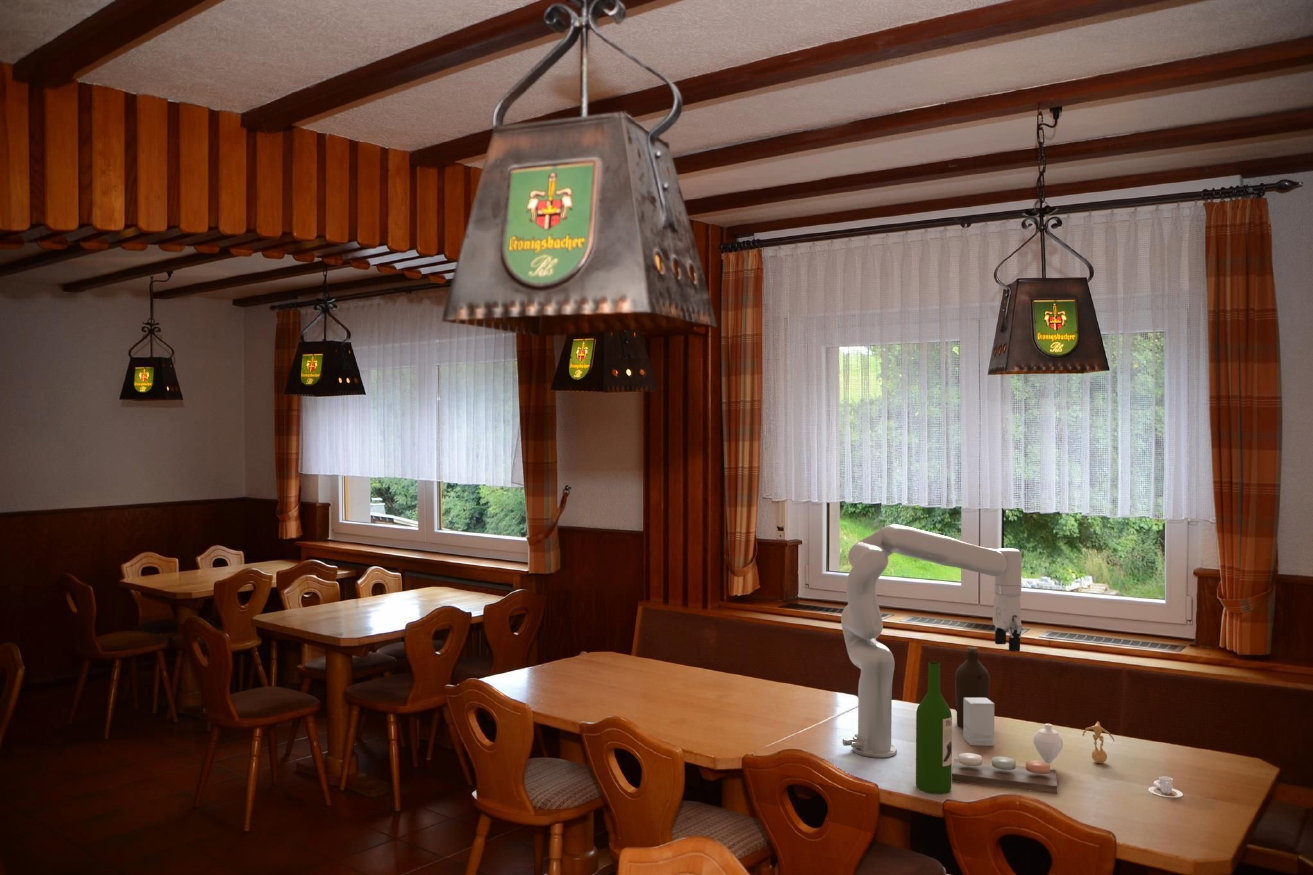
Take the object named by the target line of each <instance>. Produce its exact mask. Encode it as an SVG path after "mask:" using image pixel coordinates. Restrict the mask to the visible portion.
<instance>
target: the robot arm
mask: <svg viewBox="0 0 1313 875" xmlns="http://www.w3.org/2000/svg"><path fill="white" fill-rule="evenodd" d="M893 554H898V555H900V556H904V557H909V558H912V559H917V560H920V561H924V562H929V563H933V564H937V565H941V566H944V567H952V568H958V569H962V570H967V571H971V572H975V573H979V574H983V575H985V576H990V577H994V599H993V606H992V607H993V609H992V624H993V625H994V644H995V645H1006V644H1007V630H1008V634H1009V637H1008V651H1009V652H1020V651H1021V637H1022V635H1021V634H1022V629H1023V624H1022V612H1021V610H1022V608H1021V598H1020V597H1022V560H1023V558H1022V552H1021V551H1020V550H1019V549H1016V548H1005V547H1004V548H990V547H989V548H987V547H982V546H979V545H975V544H971V543H967V542H965V541H961V540H958V539H956V538H952V537H949V536H945V535H944V534H943V535H942V534H938V533H934V532H930V531H926V530H922V529H917V528H916V527H915V528H914V527H910V526H906V525H902V524H895V523H894V524H890V525H886V526H884V527H882V528H880V529H879V530H877V531H875V532H873V533H872V534H870V535H868V536H867V537H864V538H863V539H861V540H859V541H858V542H856V543H854V545H852V546H851V548H850V549H849V551H848V556H847V558H848V562H849V565H850V566H851V569H850V571H849V573H848V575H847V578H846V583H845V594H846V598H847V599H846V600H847V605H846V606H845V607H844V609H843V610H842V613H841V616H840V620H841V621H840V622H841V629H842V633H843V638H844V643H845V646H846V648H845V649H846V652H847V654H848V657H849V660H850V661H851V663H852V664H853V665H854V666H855V667H857V668H859V669H860V675H859V676H860V677H859V680H858V687H857V689H858V690H857V691H858V692H857V697H858V698H857V699H858V700H857V702H858V703H857V707H858V708H857V710H858V711H857V712H858V713H857V715H858V717H857V722H858V723H857V733H855V734H854V736H853V737H852V738H843V739H842V745H843V746H844V747H845V746H846V747H847V746H850V747H851V748H852V751H853V752H854V753H856V754H858V755H861V756H864V757H869V758H877V759H878V758H882V759H883V758H891V757H893V756H895V755H897V754H898V753H897V752H898V749H897V747H896V746H895V745H893V744H892V716H893V715H892V714H893V713H892V707H893V705H892V703H893V702H892V701H893V699H892V695H893V694H892V693H893V691H892V689H893V678H894V671H895V658H894V654H893V653H892V651H891V649H889V648H888V647H887V646H886V645H885V644H883V643H881V642H879V641H878V640H877V638H878V637H879V636H880V635H881V634H882V632H883V629H884V628H883V627H884V624H883V618H882V613H881V610H880V606H879V605H880V604H879V601H878V596H877V589H876V588H877V583H878V580H879V578H880V576H882V574H883V573H884V571H886V569H887V567H888V564H889V556H891V555H893Z"/></svg>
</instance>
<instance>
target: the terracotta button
mask: <svg viewBox="0 0 1313 875" xmlns="http://www.w3.org/2000/svg"><path fill="white" fill-rule="evenodd" d="M1025 767H1026V770H1027V771H1029V772H1032V773H1036V774H1048V773H1050V770H1051V763H1050V764H1048V763H1046V762H1045V761H1044V760H1042V761H1041V760H1027V761H1026V762H1025Z"/></svg>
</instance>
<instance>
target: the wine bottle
mask: <svg viewBox="0 0 1313 875" xmlns="http://www.w3.org/2000/svg"><path fill="white" fill-rule="evenodd" d="M927 667H928V670H927V671H928V673H927V676H928V678H927V692H926V694H925V696H924V697H923V699H922V700H921V701H920V703H919V704H918V706H917V709H916V713H915V716H916V717H915V785H916V789H917V790H918V791H921V792H923V793H926V794H933V795H944V794H949V793H950V792H951V791H952V769H953V765H952V762H953V760H952V759H953V758H952V753H953V752H952V751H953V750H952V747H953V745H952V743H953V742H952V741H953V715H952V711H951V708H950V707H949V704H948V703H947V701H946V700H945V698H944V696H943V695H942V692H941V663H939V662H937V661H931V662H928V666H927Z"/></svg>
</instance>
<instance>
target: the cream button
mask: <svg viewBox="0 0 1313 875" xmlns="http://www.w3.org/2000/svg"><path fill="white" fill-rule="evenodd" d="M958 759H959V763H961V764H963V765H967V766H980V765H982V762H983V757H982V755H979V754H977V753H972V752H963V753H959V754H958Z"/></svg>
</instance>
